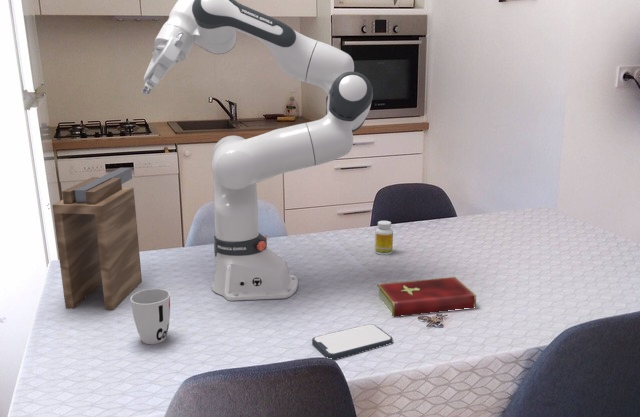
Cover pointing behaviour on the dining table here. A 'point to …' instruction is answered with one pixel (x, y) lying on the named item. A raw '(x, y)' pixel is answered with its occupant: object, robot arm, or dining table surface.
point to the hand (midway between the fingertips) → (148, 88)
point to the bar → (119, 173)
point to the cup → (151, 314)
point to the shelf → (98, 243)
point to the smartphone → (351, 341)
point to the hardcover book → (426, 296)
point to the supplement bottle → (383, 238)
